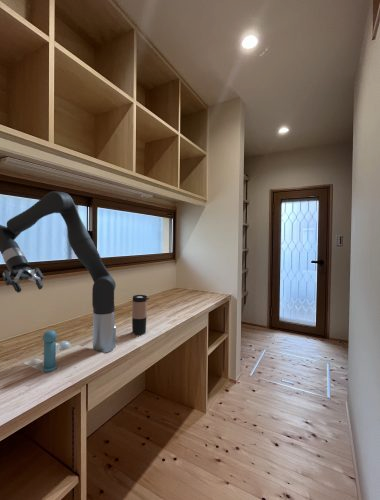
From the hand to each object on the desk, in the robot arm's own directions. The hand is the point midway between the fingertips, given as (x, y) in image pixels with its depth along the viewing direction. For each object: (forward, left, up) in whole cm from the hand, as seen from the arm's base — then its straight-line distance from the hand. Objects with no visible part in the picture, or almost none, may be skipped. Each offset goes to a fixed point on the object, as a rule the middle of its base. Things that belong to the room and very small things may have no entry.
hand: (30, 289), depth 105 cm
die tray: (-10, +5, -30) cm, 32 cm away
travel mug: (-47, +19, -29) cm, 58 cm away
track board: (+3, +13, -29) cm, 31 cm away
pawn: (+3, +18, -27) cm, 33 cm away
